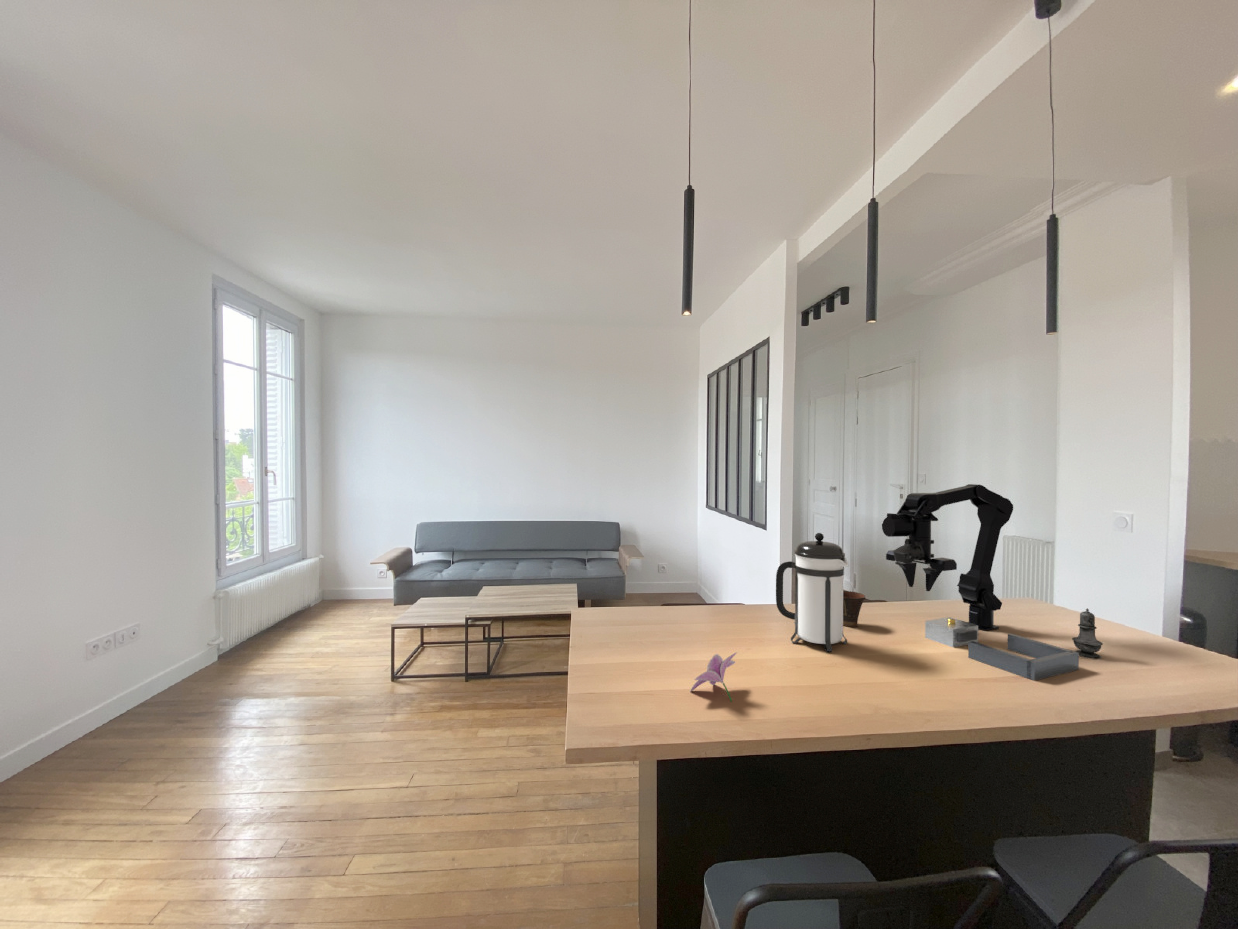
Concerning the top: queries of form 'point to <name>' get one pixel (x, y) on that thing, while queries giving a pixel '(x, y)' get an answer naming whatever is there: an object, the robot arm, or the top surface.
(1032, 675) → the frame
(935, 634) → the drawer
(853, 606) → the cup
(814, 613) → the coffee press
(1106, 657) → the top surface
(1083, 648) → the salt shaker
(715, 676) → the lily
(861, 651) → the top surface
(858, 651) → the top surface
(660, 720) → the top surface
